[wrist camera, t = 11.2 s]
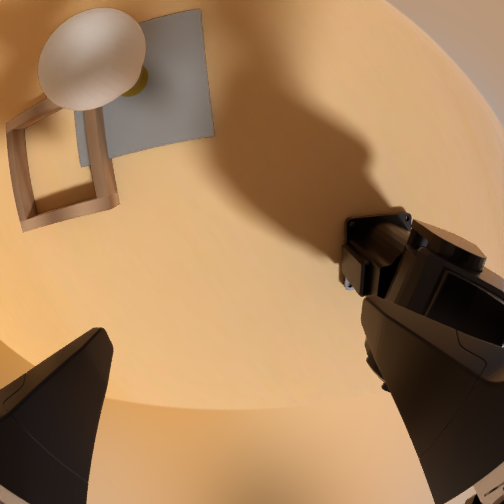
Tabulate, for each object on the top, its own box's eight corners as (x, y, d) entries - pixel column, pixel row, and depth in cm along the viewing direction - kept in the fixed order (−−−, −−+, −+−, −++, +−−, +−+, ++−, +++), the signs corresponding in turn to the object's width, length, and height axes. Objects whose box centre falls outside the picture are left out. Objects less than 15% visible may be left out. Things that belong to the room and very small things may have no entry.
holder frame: (103, 80, 15) (93, 76, 14) (120, 204, 19) (110, 209, 18) (17, 123, 15) (5, 123, 14) (33, 226, 19) (22, 232, 18)
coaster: (200, 11, 14) (199, 8, 13) (214, 136, 18) (214, 135, 18) (76, 50, 14) (73, 49, 13) (84, 166, 18) (81, 167, 17)
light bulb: (88, 99, 15) (1, 84, 6) (132, 38, 14) (68, -17, 5) (141, 133, 17) (63, 127, 8) (189, 68, 15) (150, 5, 6)
